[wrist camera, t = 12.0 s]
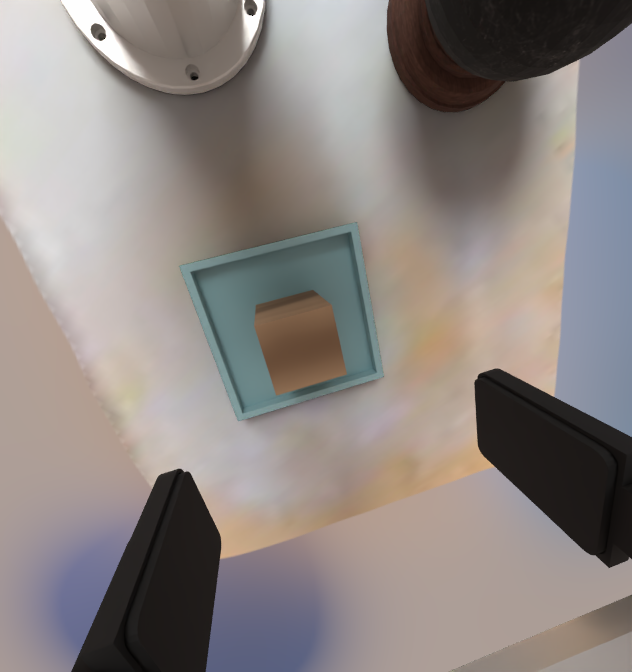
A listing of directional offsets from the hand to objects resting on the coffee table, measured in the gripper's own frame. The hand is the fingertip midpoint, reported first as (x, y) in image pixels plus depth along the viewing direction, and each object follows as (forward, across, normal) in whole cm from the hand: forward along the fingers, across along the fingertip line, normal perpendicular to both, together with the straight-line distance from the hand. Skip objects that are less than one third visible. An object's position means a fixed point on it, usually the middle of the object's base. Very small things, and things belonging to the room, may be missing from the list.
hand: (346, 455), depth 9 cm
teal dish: (+18, 0, 0) cm, 18 cm away
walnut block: (+17, 0, 0) cm, 17 cm away
